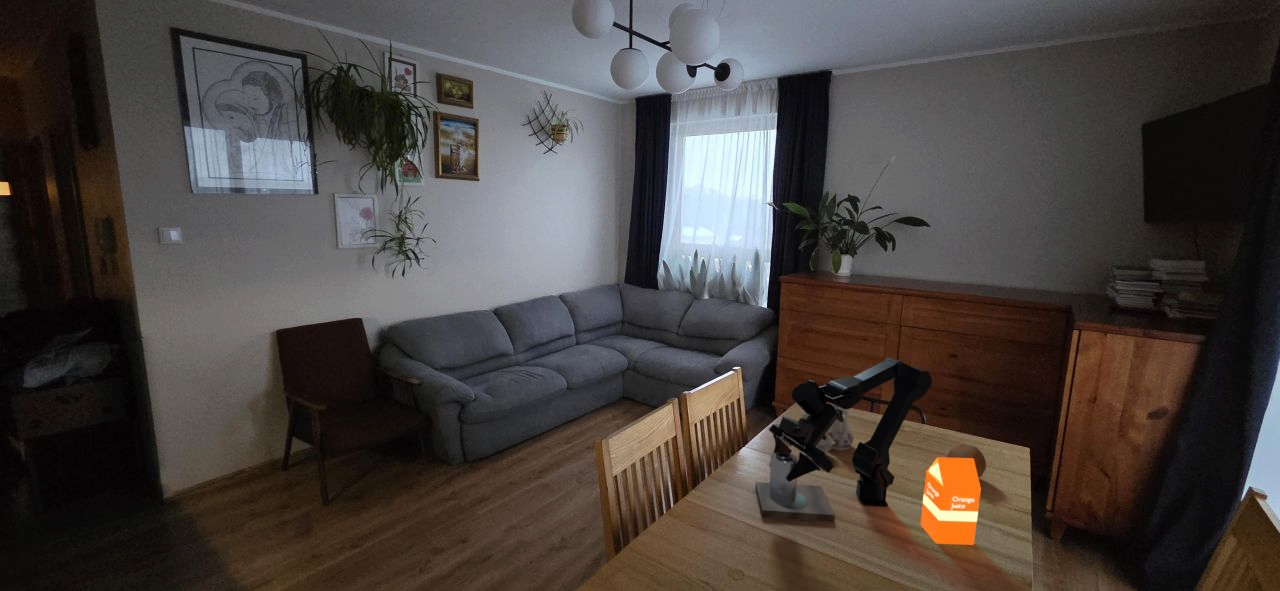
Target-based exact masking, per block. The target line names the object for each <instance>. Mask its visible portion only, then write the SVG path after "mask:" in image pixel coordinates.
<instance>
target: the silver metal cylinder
mask: <svg viewBox="0 0 1280 591" xmlns="http://www.w3.org/2000/svg"><path fill="white" fill-rule="evenodd" d="M798 460H799V458H798V457H797V456H796V455H794V454H792V453H786V452H776V453H774V452H773V453H772V454H771V455H770V462H771V463H769V465H770V466H769V468H770V470H769V471H770V472H769V483H770V489H769V497H770V499H771V500H772V501H774V502H776V503H779V504H785V505H787V504H792V503H794V502H795V501H796V484H797V485H798V483H797V482H798V481H797V480H798V478H796V479H794V480H792V481H788V480H787V479H786V478H787V476H788V474H789V473H790V471H791V470H792V469H793V467H794V466H795V465H796V463H797V462H798Z"/></svg>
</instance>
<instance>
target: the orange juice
mask: <svg viewBox="0 0 1280 591" xmlns="http://www.w3.org/2000/svg"><path fill="white" fill-rule="evenodd" d="M981 491H982V488H981V483H980V478H978V475H977V471H976V466H975V462H974V458H947V457H940V456H939V457H936V459H935V460H934V461H933V462H932V464H931V465H930V466H929V468H928V469H927V470H926V472H925V481H924V490H923V497H922V498H923V499H922V507H921V508H922V509H921V518H920V526H921V527H922V528H923V530H924V531H925V533H927V534H928V535H929V537H930V538H931V539H932V541H933V542H934V543H935V544H936V545H938V544H939V545H965V546H968V545H970V546H974V544H975V539H976V538H975V536H976V532H977V530H976V529H977V523H978V516H979V505H980V498H981Z"/></svg>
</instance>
